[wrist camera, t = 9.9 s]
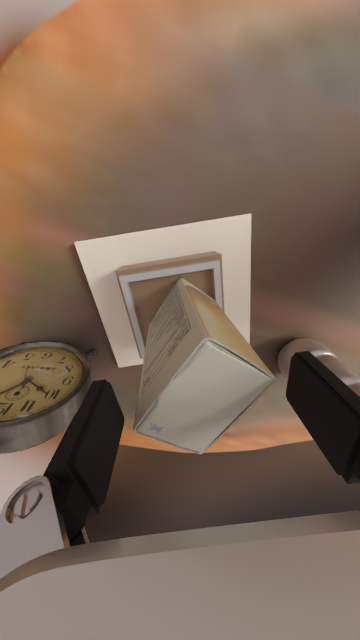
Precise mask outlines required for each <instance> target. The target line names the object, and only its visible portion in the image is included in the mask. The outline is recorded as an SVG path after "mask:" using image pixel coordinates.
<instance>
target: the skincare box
mask: <svg viewBox="0 0 360 640" xmlns="http://www.w3.org/2000/svg"><path fill="white" fill-rule="evenodd" d="M275 381H276V378H275V376H274V375H273V374H272V373H271V371H270V370H269V369H268V367H267V366H266V365H265V364H264V362H263V361H262V360H261V359H260V357H259V356H258V355H257V354H256V352H255V351H254V350H253V349H252V347H251V346H250V345H249V343H248V342H247V341H246V340H245V338H244V337H243V336H242V335H241V333H240V332H239V331H238V329H237V328H236V327H235V326H234V324H233V323H232V322H231V320H230V319H229V318H228V317H227V316H226V314H225V313H224V312H223V310H222V309H221V308H220V307H219V305H218V304H217V303H216V302H215V300H214V299H213V298H211V297H210V296H209V295H207V294H206V293H204V292H203V291H202V290H200V289H199V288H197V287H196V286H194V285H193V284H191V283H190V282H188V281H186V280H185V279H183V278H179V279H178V280H177V282H176V283H175V285H174V286H173V288H172V289H171V290H170V292H169V293H168V295H167V297H166V298H165V300H164V301H163V303H162V304H161V306H160V307H159V309H158V311H157V312H156V314H155V316H154V317H153V319H152V321H151V322H150V324H149V328H148V335H147V342H146V348H145V355H144V362H143V368H142V374H141V381H140V387H139V394H138V401H137V407H136V414H135V421H134V426H133V431H134V432H136V433H138V434H142V435H145V436H148V437H150V438H153V439H156V440H159V441H161V442H164V443H168V444H170V445H173V446H176V447H179V448H182V449H185V450H188V451H192V452H195V453H198V454H202V453H204V452H205V451H206V450H207V449H208V448H209V447H210V446H211V445H212V444H213V443H215V442H216V441H217V440H218V439H219V438H220V437H221V436H222V435H223V434H224V433H225V432H226V431H227V430H228V429H229V428H230V427H231V426H232V425H233V424H234V423H235V422H236V421H237V420H238V419H239V418H240V417H241V416H242V415H243V414H244V413H245V412H246V411H247V410H248V409H249V408H250V407H251V406H252V405H253V404H254V403H255V402H256V401H257V400H258V399H259V398H260V397H261V396H262V395H263V394H264V393H265V392H266V390H267V389H268V388H269V387H270V386H271V385H272V384H273V383H274V382H275Z"/></svg>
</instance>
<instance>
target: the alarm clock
mask: <svg viewBox="0 0 360 640" xmlns="http://www.w3.org/2000/svg"><path fill="white" fill-rule="evenodd" d="M96 353H97V352H96V350H92V352H89V353H86V354H84V353H83V352H82V351H81V350H80V349H78V348H76V347H74V346H72V345H69V344H66V343H61V342H51V341H39V342H30V343H25V342H23V343H21V344H19V345H14V346H10V347H7V348H4V349H1V350H0V454H2V453H12V452H17V451H22V450H25V449H28V448H31V447H34V446H37V445H39V444H42V443H44V442H46V441H48V440H49V439H51V438H53V437H54V436H56V435H58V434H59V433H61V432H62V431H63V430H65V429H66V428H67V427H68V426H69V425H70V423H71V421H72V419H73V417H74V415H75V414H76V412H77V411H78V409H79V408H80V406H81V404H82V402H83V400H84V398H85V396H86V394H87V392H88V390H89V388H90V386H91V377H90V362H89V359H88V358H89V357H90V356H91V355H93V354H94V355H95V354H96Z"/></svg>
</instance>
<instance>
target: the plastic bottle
mask: <svg viewBox="0 0 360 640" xmlns="http://www.w3.org/2000/svg"><path fill="white" fill-rule="evenodd" d="M302 351H309V352H310V353H312V354H313V355H314V356H315V357H316V358H317V359H318V360H319V361H320V362H322V363H323V364H324V365H325V366H326V367H327V368H328V369H329V370H330V371H332V372H333V373H334V374H335V375H336V376H337V377H338V378H339V379H340V380H342V381H343V382H344V383H345V384H346V385H347V386H348V387H349V388H350V389H352V390H353V391H354V392H355V393H356V394H357V395H358V396H359V397H360V378H359V377H358V376H357V375H356V374H355V373H354V372H353V371H351V370H350V369H349V368H348V367H347V366H346V365H344V364H343V363H342V362H341V361H340V360H339V359H338V358H337V357H336V356H335V354H334V353H333V352H332V351H331V350H330V349H329V348H328V347H327V346H325V345H324V344H322V343H320V342H318V341H316V340H313V339H310V338H301V339H295V340H293V341H291V342H289V343H287V344H286V345H285V346H284V347H283V348H282V349H281V351H280V353H279V355H278V368H279V369H280V371H281V373H282V375H283V377H284V378H285V379H286V380H287V381H288V376H289V368H290V361H291V357H292V356H294V353H296V352H302Z"/></svg>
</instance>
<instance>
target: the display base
mask: <svg viewBox="0 0 360 640" xmlns="http://www.w3.org/2000/svg"><path fill="white" fill-rule="evenodd" d="M74 244H75V247H76V250H77V252H78V255H79V258H80V261H81V264H82V266H83V269H84V272H85V275H86V278H87V280H88V283H89V286H90V289H91V292H92V294H93V297H94V300H95V303H96V306H97V308H98V311H99V314H100V317H101V320H102V322H103V325H104V328H105V331H106V334H107V336H108V339H109V342H110V345H111V347H112V350H113V353H114V356H115V359H116V361H117V364H118V367H119V368H121V367H127V366H133V365H140V364H143V362H144V355H145V348H146V342H147V335H148V328H149V324H150V322H151V321H152V319H153V317H154V316H155V314H156V312H157V311H158V309H159V307H160V306H161V304H162V303H163V301H164V300H165V298H166V297H167V295H168V293H169V292H170V290H171V289H172V288H173V286H174V285H175V283H176V282H177V280H178V279H179V278H183V279H185V280H186V281H188V282H190V283H191V284H193V285H194V286H196V287H197V288H199V289H200V290H202V291H203V292H204V293H206V294H207V295H209V296H210V297H211V298H213V299H214V300H215V302H216V303H217V304H218V305H219V307H220V308H221V309H222V310H223V312H224V313H225V314H226V316H227V317H228V318H229V319H230V320H231V322H232V323H233V324H234V326H235V327H236V328H237V329H238V331H239V332H240V333H241V335H242V336H243V337H244V338H245V340H246V341H247V342H248V343H249V345H250V281H251V214H244V215H238V216H232V217H226V218H220V219H214V220H207V221H201V222H195V223H189V224H183V225H177V226H170V227H164V228H158V229H152V230H146V231H140V232H133V233H127V234H121V235H115V236H109V237H103V238H96V239H90V240H84V241H78V242H74Z"/></svg>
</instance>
